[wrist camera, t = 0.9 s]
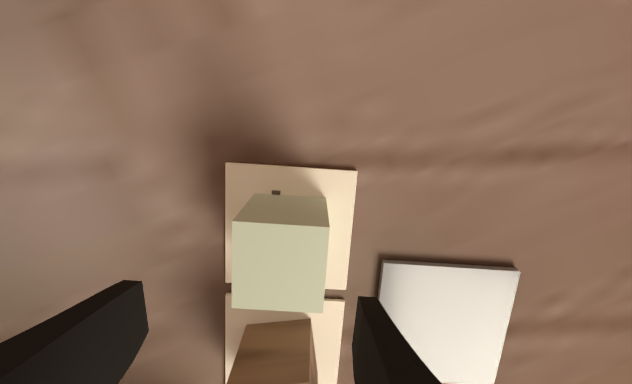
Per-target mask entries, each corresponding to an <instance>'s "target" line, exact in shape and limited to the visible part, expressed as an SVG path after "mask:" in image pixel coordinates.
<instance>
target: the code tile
mask: <svg viewBox="0 0 632 384" xmlns="http://www.w3.org/2000/svg"><path fill="white" fill-rule="evenodd" d="M357 172H358V171H354V170H338V169H323V168H308V167H293V166H278V165H263V164H247V163H232V162H226V163H225V283H232V221H233V219H234V218H235V217H236V216H237V214H238V213H239V212H240V211H241V209H242V208H243V207H244V206H245V204H246V203H247V202H248V201H249V199H250V198H251V197H252V196H253V194H254V193H257V194H273V195H288V196H304V197H319V198H326V201H327V209H328V217H329V225H330V231H329V243H328V256H327V268H326V280H325V289H339V290H346V284H347V274H348V264H349V253H350V243H351V233H352V223H353V213H354V202H355V192H356V182H357Z"/></svg>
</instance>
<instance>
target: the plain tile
mask: <svg viewBox="0 0 632 384" xmlns="http://www.w3.org/2000/svg"><path fill="white" fill-rule="evenodd" d="M344 304H345V300H343V299H326V298H324V305H323V313H307V312H290V311H273V310H256V309H239V308H232V293H226V295H225V384H227V381H228V378H229V375H230V372H231V369H232V366H233V363H234V360H235V357H236V354H237V351H238V348H239V345H240V342H241V339H242V336H243V333H244V330H245V327H246V325H248V324H258V323H269V322H279V321H290V320H300V319H311V324H312V332H313V340H314V348H315V355H316V363H317V371H318V384H337V376H338V365H339V355H340V345H341V335H342V325H343V315H344Z"/></svg>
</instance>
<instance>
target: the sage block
mask: <svg viewBox="0 0 632 384" xmlns="http://www.w3.org/2000/svg"><path fill="white" fill-rule="evenodd" d="M329 231H330V225H329V217H328V209H327V201H326V198H319V197H304V196H288V195H273V194H257V193H254V194H253V196H252V197H251V198H250V199H249V201H248V202H247V203H246V204H245V206H244V207H243V208H242V209H241V211H240V212H239V213H238V214H237V216H236V217H235V218H234V219H233V221H232V308H239V309H256V310H273V311H290V312H307V313H323V305H324V293H325V280H326V268H327V256H328V243H329Z"/></svg>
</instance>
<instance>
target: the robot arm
mask: <svg viewBox="0 0 632 384" xmlns="http://www.w3.org/2000/svg"><path fill="white" fill-rule="evenodd" d="M148 331H149V329H148V322H147V314H146V307H145V299H144V292H143V285H142V281H130V280H123V281H121V282H119V283H116V284H114V285H112V286H110V287H108V288H106V289H105V290H103V291H101V292H99V293H97V294H95V295H93V296H91V297H89V298H88V299H86V300H84V301H82V302H80V303H78V304H76V305H75V306H73V307H71V308H69V309H67V310H65V311H63V312H61V313H60V314H58V315H56V316H54V317H52V318H50V319H48V320H46V321H44V322H42V323H40V324H38V325H36V326H34V327H32V328H30V329H28V330H26V331H24V332H22V333H20V334H18V335H16V336H14V337H12V338H10V339H8V340H6V341H4V342H2V343H0V384H118V383H119V382H120V380H121V379H122V377H123V376H124V374H125V373H126V371H127V370H128V368H129V367H130V365H131V364H132V362H133V360H134V359H135V357H136V355H137V353H138V351H139V349H140V348H141V346H142V344H143V342H144V340H145V338H146V335H147V333H148ZM352 353H353V371H354V381H355V384H442V383H441V382H440V381H439V380H438V379H437V378H436V376H435V375H434V374H433V373H432V372H431V371H430V369H429V368H428V367H427V366H426V365H425V363H424V362H423V361H422V360H421V359H420V357H419V356H418V355H417V353H416V352H415V351H414V350H413V348H412V347H411V346H410V344H409V343H408V342H407V340H406V339H405V338H404V336H403V335H402V334H401V332H400V331H399V329H398V328H397V327H396V325H395V324H394V322H393V321H392V319H391V318H390V316H389V315H388V313H387V312H386V310H385V309H384V307H383V306H382V304H381V302H380V301H379V300H378V299H377V298H376V297H362V296H358V302H357V310H356V318H355V326H354V334H353V342H352Z"/></svg>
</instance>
